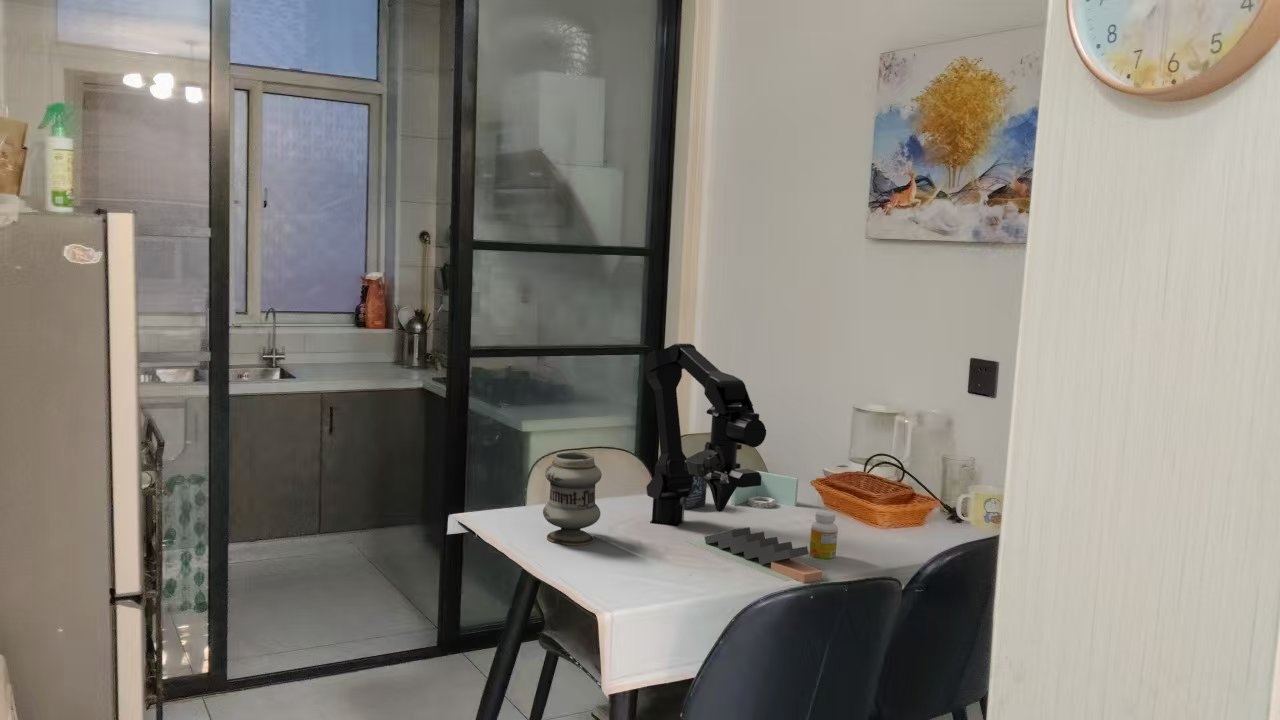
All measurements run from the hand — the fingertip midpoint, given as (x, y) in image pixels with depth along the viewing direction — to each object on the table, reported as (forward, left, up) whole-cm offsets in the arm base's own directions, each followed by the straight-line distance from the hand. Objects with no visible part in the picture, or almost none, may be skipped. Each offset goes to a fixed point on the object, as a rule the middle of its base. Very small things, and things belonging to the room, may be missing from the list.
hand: (719, 511), depth 222 cm
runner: (+8, -7, -8) cm, 13 cm away
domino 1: (-1, +1, -6) cm, 6 cm away
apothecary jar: (-30, -8, -8) cm, 32 cm away
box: (-13, +33, -8) cm, 36 cm away
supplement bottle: (+22, 0, -8) cm, 23 cm away
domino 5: (+12, -10, -6) cm, 17 cm away
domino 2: (+3, -2, -6) cm, 7 cm away
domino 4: (+9, -7, -6) cm, 13 cm away
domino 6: (+15, -12, -6) cm, 20 cm away
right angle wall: (+5, +42, -8) cm, 44 cm away
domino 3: (+6, -5, -6) cm, 9 cm away
